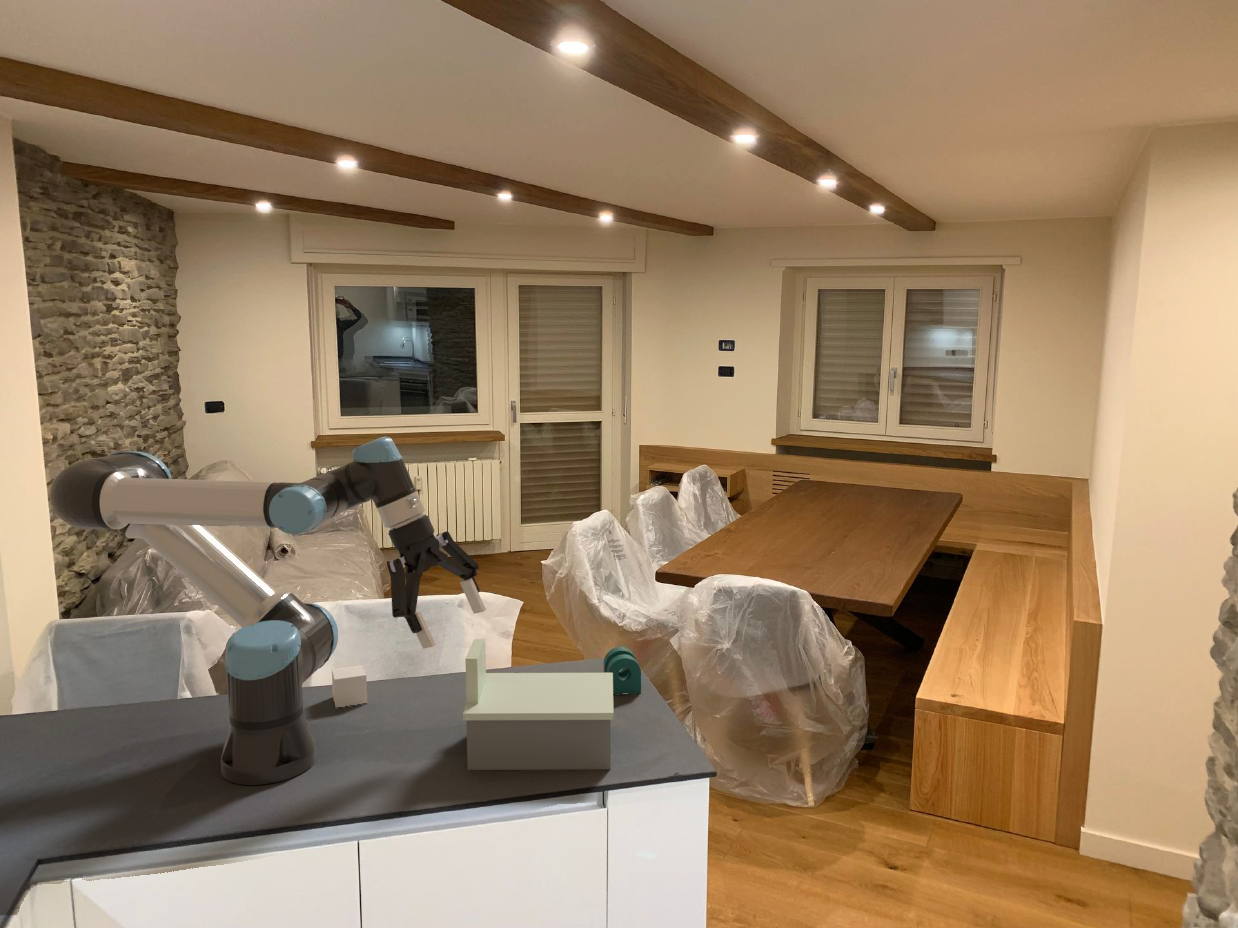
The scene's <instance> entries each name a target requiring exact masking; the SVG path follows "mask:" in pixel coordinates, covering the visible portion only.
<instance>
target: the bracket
mask: <svg viewBox="0 0 1238 928" xmlns="http://www.w3.org/2000/svg"><path fill="white" fill-rule="evenodd" d="M602 673H613V694H622V695H624V694H623V693H639V694H642V669H641V667H640V665H639V662H638V661H637V658H636V656H635V654H634V653H633V652H632V650H631V649H629V648H627V647H625V646H616V647H614V648H611V649H610V650H609V651H608V652H607V653H606V654H605V656H604V659H603V671H602Z"/></svg>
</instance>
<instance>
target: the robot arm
mask: <svg viewBox="0 0 1238 928" xmlns="http://www.w3.org/2000/svg"><path fill="white" fill-rule="evenodd" d="M351 455H352V461H350V462H348V463H347V464H345V465H343V466H340V467H337V468H335V469H332V470H330V471H328V472H326V473H322V474H320V475H318V476H317V475H316V476H314V477H312V478H310V479H308V480H305V481H302V482H283V481H282V482H274V481H250V480H249V481H247V480H244V481H243V480H219V479H218V480H213V479H178V478H177V479H176V478H172V475H171V472H170V470H169V468H168V467H167V465H165V463H164V462H163V461H162V460H161V459H159V458H158V457H156V456H154V455H153V454H150V453H148V452H143V451H126V450H125V451H119V452H115V453H112V454H109V455H107V456H106V455H105V456H102V457H101V456H100V457H95V458H91V459H86V460H81V461H77V462H74V463H72V464H70V465H68V466H67V467H65V468H64V469H62V470H61V471H60V472H59V473H58V474H57V475H56V476H55V478H54V480H53V481H52V484H51V486H50V491H49V499H50V500H49V501H50V504H51V506H52V507H51V508H52V509H53V511H54V512H55V515H56V516H57V517H58V518H60V520H61V521H62V522H64V523H66V524H67V525H70V526H71V527H74V528H77V529H83V530H118V531H119V532H120V533H122V534H123V535H124V536H125V537H126V538H127V539H141V540H143V541H144V542H145V543H147V544H148V545H149V546H150V547H151V548H152V549H153V550H154V551H156V552H157V553H158V554H159V555H160V556H161V557H162V558H163V559H164V560H165V561H167V562H168V563H169V564H170V565H171V566H172V567H174V568H175V569H176V570H177V571H178V572H179V573H180V574H181V575H182V576H184V578H185V579H187V580H188V581H189V582H190V583H192V584H193V585H194V586H195V587H196V588H197V589H198V590H199V591H200V592H201V593H203V595H205V597H207V598H208V599H209V600H211V601H212V602H213V603H214V604H216V606H218V608H219V609H220V610H221V611H223V612H224V613H225V614H226V615H228V617H230V619H232V620H233V621H234V622H235V623H236V624H237V625H239V627H241V628H240V629H238V630H236V631H235V632H234V633H232V634H231V636H230V637H229V638H228V640H227V642H226V644H225V656H224V667H225V673H226V687H227V688H226V689H227V704H228V714H229V715H228V716H229V728H228V732H227V735H226V738H225V742H224V745H223V748H222V753H221V756H220V773H221V776H222V777H223V778H224V780H226V781H228V782H231V783H234V784H237V785H247V786H258V785H268V784H274V783H278V782H282V781H286V780H288V779H289V780H290V779H293V778H294V777H296V776H299V775H301V774H302V773H304V772H306V771H307V770H308V769H310V768H311V767H312V766H313V765H314V764H315V762H316V761H317V745H316V742H315V738H314V737H313V735H312V732H311V729H310V726H309V725H308V723H307V720H306V718H305V715H304V701H303V684H304V683H305V682H306V681H307V680H308V679H310V677H312V675H314V674H315V672H317V671H318V670H320V669H321V668H322V667H324V666H325V665H326V663H327V662H328V661H329V660H330V658H331V656H332V655H333V653H334V652H335V651H336V648H337V646H338V642H339V629H338V624H337V622H336V620H335V618H334V616H333V614H331V612H330V611H328V609H326V608H325V607H323V606H322V605H319V604H317V603H314V602H313V603H309V602H303V601H302V600H301V599H299V598H298V597H297V596H296V595H295V594H294V593H292V592H291V591H278V590H277V589H276V588H274V587H273V586H272V585H271V584H270V583H269V582H267V580H265V579H264V578H263V577H262V576H261V575H260V574H258V573H257V572H256V570H254V569H253V568H252V567H251V566H250V565H248V564H247V563H246V562H245V561H244V560H243V559H241V558H240V556H238V554H236V553H235V552H234V551H233V550H231V549H230V547H228V546H227V545H226V544H225V543H224V542H222V541H221V539H219V538H218V537H217V536H216V535H214V534H213V533H212V532H211V530H209V529H208V528H207V527H208V526H209V527H231V528H232V527H235V528H237V527H239V528H265V529H266V528H267V529H268V528H271V529H272V528H273V529H277V530H280V531H281V532H282V533H285V534H288V535H297V534H302V533H307V532H308V533H309V532H311V531H312V530H314V529H316V528H317V527H318V526H319V525H321V524H322V523H324V522H327V521H329V520H330V519H332V518H334V517H336V516H338V515H340V514H342V513H345V512H346V511H348V510H351V509H353V508H355V507H357V506H359V505H362V504H364V503H367V502H370V501H371V500H372V501H373V504H374V505H375V508H376V509H377V512H378V514H379V517H380V519H381V522H382V523H383V526H384V528H386V529H389V530H388V532H387V535H388V536H389V538H390V541H391V543H392V546H393V547H394V548H395V550H397V551H398V553H399V558H394V559H391V560H388V561H387V563H386V566H387V568H388V569H387V570H388V571H389V574H390V592H391V612H392V613H391V614H392V617H393V618H394V619H396V618H404V619H405V621H406V622H407V624H408V627H409V629H410V631H411V633H412V634H416V637H417V638H418V641H419V643H420V645H421V648H422V649H423V650H424V649H428V648H433V647H434V646H437V644H436V643H435V640H434V638H433V636H432V633H431V632H430V629H429V627H428V625H427V623H426V620H425V619H424V616H423V614H422V612H421V610H419V611H417V604H418V598H419V593H420V584H421V578H422V577H423V574H424V573H425V572H427V571H429V570H430V569H431V568H432V567H436V566H439V567H441V568H443V569H444V570H446V571H448V572H450V573H452V574H453V575H455V576H457V577H458V578H460V579H462V580H461V581H459V585H460V586H461V588H462V589H461V590H462V591H463V593H464V595H465V597H466V599H467V602H468V605H469V606H470V609H471V611H472V613H473V615H474V614H477V613H478V614H479V613H483V612H485V611H486V610H487V609H486V607H485V604H484V602H483V599H482V597H481V595H480V594H479V593H480V592H481V591H480V587H479V585H478V583H477V581H476V578H475V577H477V575H478V572H477V571H478V570H479V569H480V566H479V563H477V562H476V561H475V560H474V559H473V557H471V556H470V554H468V553H467V552H466V551H465V550H464V549H463V548H462V547H461V546H460V545H459V544H457V542H455V541H454V539H453V538H452V536H451V533H450V532H449V531H443V532H440V533H437V534H436V535H435V534H434V533H435V528H434V526H433V524H432V522H431V520H430V517H429V515H427V514H424V513H425V510H426V508H425V506H424V505H423V503H422V500H421V497H420V496H419V493H418V491H417V489H416V487H415V485H414V483H413V480H412V477H411V476H410V474H409V470H408V469H407V466H406V464H405V462H404V458H403V456H402V455H401V454H400V451H399V450H398V447H397V446H396V444H395V442H394V440H393V439H392V438H391V437H389V436H382V437H378V438H377V439H374V440H371V441H369V442H366V443H364V444H361V445H359V446H357V447H355V448H354V449H352V450H351ZM205 526H206V527H205ZM440 547H441V549H443V550H444V551H445V552H446V553H445V552H444V551H442V550H440ZM449 556H450V557H449ZM405 567H406V568H405Z"/></svg>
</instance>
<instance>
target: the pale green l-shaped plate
mask: <svg viewBox="0 0 1238 928" xmlns="http://www.w3.org/2000/svg"><path fill="white" fill-rule="evenodd" d="M486 657H487V655H486V638H474V639H473V640H472V643H471V645H470V646H469V649H468V652H467V654H466V656H465V663H464V664H465V695H466V697H465V699H466V701H465V702H466V704H465V706H464V710H463V712H462V721H466V720H610V721H613V720H614V695H613V673H603V672H487V667H486V666H487V665H486V662H487V661H486V659H487V658H486Z"/></svg>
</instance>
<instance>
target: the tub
mask: <svg viewBox="0 0 1238 928" xmlns="http://www.w3.org/2000/svg"><path fill="white" fill-rule="evenodd" d="M465 721H466V722H465V723H466V751H467V752H466V754H467V755H466V757H467V762H466V763H467V764H466V765H467V771H501V770H502V771H514V770H515V771H516V770H517V771H519V770H524V771H525V770H528V771H529V770H531V771H532V770H537V771H539V770H540V771H543V770H545V771H546V770H552V771H553V770H611V720H465Z"/></svg>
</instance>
